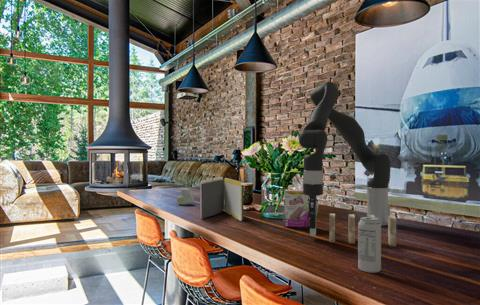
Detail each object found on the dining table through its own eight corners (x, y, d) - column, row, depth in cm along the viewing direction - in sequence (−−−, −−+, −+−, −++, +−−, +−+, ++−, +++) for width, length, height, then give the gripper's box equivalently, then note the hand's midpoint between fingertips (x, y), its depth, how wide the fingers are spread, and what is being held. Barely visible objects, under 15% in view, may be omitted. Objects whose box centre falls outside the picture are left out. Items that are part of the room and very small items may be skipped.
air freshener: (196, 204, 235) (196, 188, 235) (187, 205, 228) (187, 189, 228) (183, 203, 241) (183, 187, 241) (174, 204, 234) (174, 189, 234)
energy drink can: (385, 272, 101) (385, 218, 101) (372, 277, 98) (372, 221, 98) (366, 267, 106) (366, 215, 106) (353, 271, 103) (353, 217, 103)
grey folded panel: (248, 220, 178) (248, 180, 178) (205, 223, 171) (205, 182, 171) (227, 210, 211) (227, 176, 211) (190, 212, 204) (190, 177, 204)
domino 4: (393, 243, 135) (393, 215, 134) (396, 246, 130) (396, 218, 130) (388, 242, 135) (388, 215, 135) (390, 246, 130) (390, 218, 130)
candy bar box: (283, 227, 162) (283, 190, 162) (283, 225, 167) (283, 189, 167) (309, 228, 161) (309, 190, 161) (308, 225, 166) (308, 189, 166)
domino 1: (309, 235, 137) (310, 209, 137) (310, 232, 142) (310, 207, 142) (315, 236, 137) (315, 209, 137) (315, 233, 141) (316, 207, 141)
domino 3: (354, 240, 138) (354, 214, 138) (354, 244, 133) (354, 216, 133) (348, 240, 138) (348, 214, 138) (349, 243, 134) (349, 216, 134)
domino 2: (334, 239, 140) (334, 213, 140) (335, 242, 135) (335, 215, 135) (329, 239, 140) (329, 213, 140) (329, 242, 135) (329, 215, 135)
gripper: (304, 180, 147) (304, 223, 147) (301, 183, 133) (301, 230, 133) (323, 181, 145) (323, 223, 145) (322, 184, 131) (322, 231, 131)
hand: (313, 226), depth 139 cm, fingers closed on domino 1, 5 cm apart
